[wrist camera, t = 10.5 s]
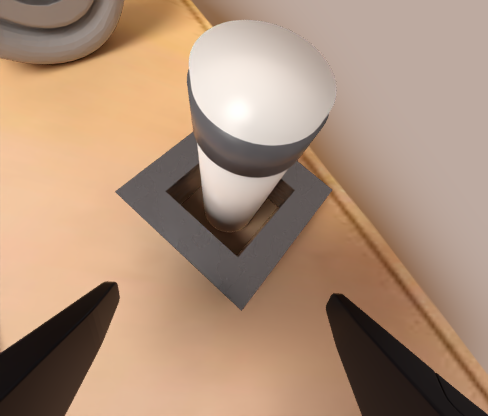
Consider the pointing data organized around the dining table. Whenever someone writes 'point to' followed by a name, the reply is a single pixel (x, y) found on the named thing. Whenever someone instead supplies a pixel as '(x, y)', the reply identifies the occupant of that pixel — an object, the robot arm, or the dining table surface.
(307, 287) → the dining table surface
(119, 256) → the dining table surface
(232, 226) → the white rounded cylinder
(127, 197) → the frame
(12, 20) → the turbocharger housing
